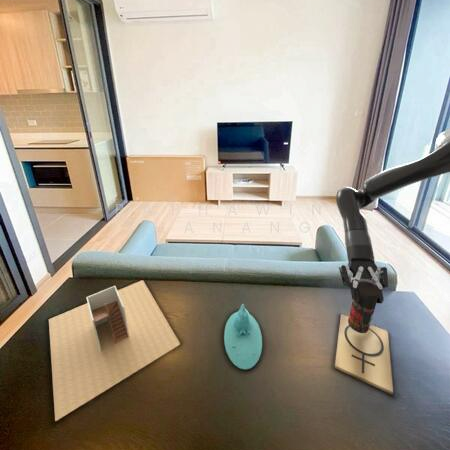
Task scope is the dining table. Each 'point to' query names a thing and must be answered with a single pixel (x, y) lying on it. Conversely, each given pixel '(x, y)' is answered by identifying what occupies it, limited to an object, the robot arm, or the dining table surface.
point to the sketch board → (365, 355)
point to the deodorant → (363, 307)
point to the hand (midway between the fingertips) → (368, 302)
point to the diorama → (243, 339)
